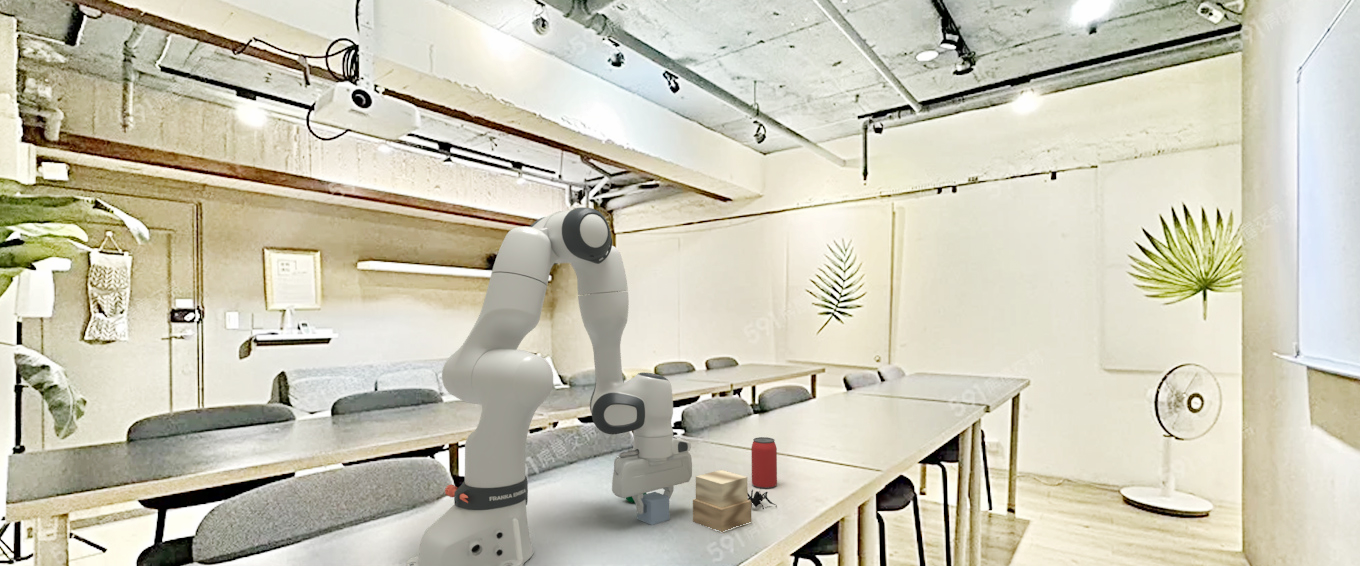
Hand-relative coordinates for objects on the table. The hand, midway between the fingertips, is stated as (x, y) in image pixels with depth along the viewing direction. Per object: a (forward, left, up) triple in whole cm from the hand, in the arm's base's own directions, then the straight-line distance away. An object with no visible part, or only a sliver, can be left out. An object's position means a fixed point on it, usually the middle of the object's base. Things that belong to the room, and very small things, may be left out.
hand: (653, 509), depth 136 cm
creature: (+25, -9, -2) cm, 26 cm away
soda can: (+5, +13, -2) cm, 14 cm away
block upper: (+10, -11, +3) cm, 15 cm away
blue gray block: (0, 0, -2) cm, 2 cm away
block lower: (+10, -11, -2) cm, 15 cm away
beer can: (+38, +1, -2) cm, 38 cm away
